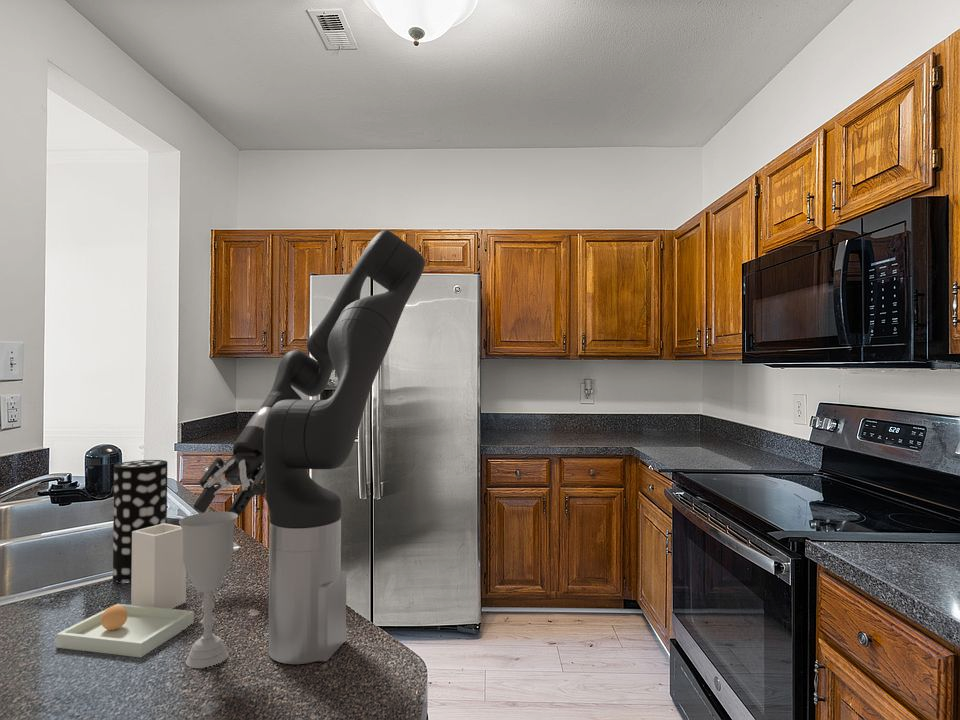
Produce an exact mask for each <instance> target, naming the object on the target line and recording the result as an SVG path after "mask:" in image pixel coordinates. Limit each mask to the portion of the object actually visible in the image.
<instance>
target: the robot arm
mask: <svg viewBox="0 0 960 720" xmlns="http://www.w3.org/2000/svg"><path fill="white" fill-rule="evenodd" d="M425 263H426V262H425V258H424V256H423V255H422V254H421V253H420V252H419V251H418V250H417V249H415V248H414V247H413V246H411V245H410V244H409V243H407V242H406V241H405V240H403V239H402V238H400V236H397V235H396V234H395V233H394V232H392V231H390V230H387V229H383V230H381V231H380V232H378V233H376V234H375V236H374V237H373V238H372V239H371V240H370V241H369V242H368V244H367V246H366V247H365V248H364V250H363V251H362V253H361V255H360V256H359V258H358V260H357V261H356V263H355V264H354V266H353V268H352V269H351V271H350V273H349V274H348V277H347V278H346V279H345V282H344V283H343V285H342V287H341V289H340V290H339V292H338V294H337V296H336V298H335V300H334V302H333V303H332V305H331V306H330V308H329V310H328V312H327V313H326V315H325V316H324V317H323V318H322V320H321V321H320V323H319V324H318V325H317V327H316V328H315V329H314V331H313V332H312V333H311V335H310V336H309V337H308V340H307V341H306V349H307V351H308V353H309V354H310V355H311V356H312V357H311V356H310V355H308V354H306V353H305V352H303V351H301V350H300V349H299V350H298V349H292V350H290V351H288V352H287V353H285V354H284V355H283V356H282V358H281V360H280V361H279V364H278V367H277V371H276V375H275V378H274V382H273V385H272V387H271V389H270V391H269V393H268V395H267V396H266V398H265V399H264V401H263V403H262V404H261V406H260V407H259V408H258V410H257V411H256V412H255V413H254V414H253V415H252V417H251V418H250V419H249V421H248V423H247V424H246V425H245V427H244V428H243V429H242V431H241V433H240V434H239V436H238V437H237V439H236V440H235V442H234V443H233V446H232V450H233V451H232V456H231V457H230V458H228V459H227V460H224V459H222V458H221V457H216V458H215V459H214V461H213V462H212V463H211V465H210V466H209V468H207V471H205V473H203V476H202V477H201V479H200V480H199V481H198V485H199V486H201V488H203V490H202V492H201V493H200V495H199V496H198V497H197V499H196V501H195V503H194V505H193V509H194V510H195V511H197V512H198V513H199V514H200V513H206V511H207V510H208V508H209V506H210V505H211V504H212V502H213V500H214V499H215V497H216V495H217V494H218V493H219V492H221V491H222V490H223V489H228V488H229V487H231V486H235V485H240V486H241V490H240V491H239V492H238V493H237V495H236V497H235V498H234V500H233V501H232V503H231V504H230V506H229V508H228V512H233V513H236V514H237V515H238V517H240V515H241V514H243V512H244V511H245V509H246V508H247V506H248V505H249V503H250V501H251V499H254V498H255V497H256V496H257V495H259V496H264V495H265V500H266V504H267V507H268V510H269V542H268V543H269V545H268V546H269V548H268V549H269V550H268V551H269V553H268V635H267V639H268V655H269V658H270V659H272V660H274V661H276V662H278V663H282V664H285V665H287V664H288V665H304V664H310V663H314V662H327V661H329V660H330V658H331V657H333V655H334V654H335V653H336V652H337V651H339V649H340V647H342V645H343V644H344V643H345V642H346V641H347V571H345V570H342V569H341V568H342V567H341V566H342V565H341V564H342V563H341V562H342V560H341V559H342V556H341V555H342V553H341V551H342V501H341V498H340V496H339V495H338V494H337V493H335V492H333V491H331V490H329V489H328V488H325V487H323V486H321V485H320V484H319V483H317V482H315V480H313V479H312V477H311V476H310V475H309V473H308V470H334V469H337V468H340V467H342V465H343V464H344V463H345V462H346V461H347V459H348V458H349V456H350V454H351V452H352V450H353V448H354V444H355V442H356V439H357V435H358V431H359V429H360V426H361V425H360V424H361V422H362V418H363V415H364V411H365V410H366V409H365V408H366V405H367V401H368V398H369V395H370V392H371V389H372V386H373V384H374V383H375V382H374V381H375V380H376V377H377V375H378V372H379V370H380V368H381V365H382V363H383V361H384V359H385V357H386V355H387V352H388V350H389V348H390V345H391V342H392V340H393V337H394V334H395V332H396V329H397V326H398V323H399V321H400V319H401V316H402V313H403V312H404V309H405V307H406V305H407V303H408V302H409V299H410V297H411V295H412V294H413V292H414V290H415V288H416V286H417V285H418V283H419V280H420V279H421V277H422V274H423V272H424V270H425V269H424V268H425ZM367 278H370V279H371V280H373V281H374V282H376V283H377V284H379V285H380V286H381V287H383V288H384V289H386V290H387V291H386V292H382V293H378V294H374V295H370V296H366V297H362V298H361V293H362V289H363V286H364V283H365V282H366V280H367ZM333 369H334V371H335V374H336V377H337V380H338V382H337V385H336V388H335V389H334V392H333V393H332V395H331V396H330V397H329V398H327V399H303V398H302V397H301V396H300V394H298V392H297V391H296V390H298V391H299V392H301V393H302V394H304V395H306V396H308V397H312V398H313V397H317V396H319V395H321V394H322V393H323V392H324V391H325V390H326V388H327V386H328V384H329V381H330V379H331V375H332V373H333ZM295 389H296V390H295ZM223 475H224V478H225V479H224V478H223ZM217 483H218V484H217Z"/></svg>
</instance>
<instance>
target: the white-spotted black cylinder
mask: <svg viewBox="0 0 960 720" xmlns="http://www.w3.org/2000/svg"><path fill="white" fill-rule="evenodd" d="M168 463H169V462H168V460H162V459H143V460H141V459H139V460H132V461H129V460H128V461H123V462H118V463H116V464H114V466H113V521H112V522H113V524H112V525H113V529H112V532H113V533H112V534H113V535H112V537H113V539H112V541H113V543H112V549H113V550H112V580H113V579H114V580H115V581H118V582H131V578H132V531H136V530H140V529H144V528H148V527H151V526H155V525H159V524H163V523H166V524H168Z"/></svg>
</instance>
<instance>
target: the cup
mask: <svg viewBox="0 0 960 720" xmlns="http://www.w3.org/2000/svg"><path fill="white" fill-rule="evenodd" d="M130 586H131V590H130V591H131V593H130V595H131V597H130V599H131V600H130V605H137V606H147V607H157V608H167V609H171V608H172V609H174V608H173V607H175V608H177V607H179V606H178V605H180V606H182V605H184V604H183V603H185V604H186V603H187V570H186V567H185V565H184V562H183V529H182V528H181V526H180V525H176V524H171V523H167V524H166V523H163V524H159V525H155V526H151V527H148V528H144V529H140V530H136V531H132V578H131V583H130ZM181 604H182V605H181ZM176 606H177V607H176Z"/></svg>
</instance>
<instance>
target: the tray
mask: <svg viewBox="0 0 960 720" xmlns="http://www.w3.org/2000/svg"><path fill="white" fill-rule="evenodd" d="M115 605H119V606H122V607H124V608H125V609H126V611H127V614H128V617H127V620H126V622H125V624H124V625H123V626H122V627H120V628H118V629H116V630H107V629H105V628H104V627H103V626H102V624H101V617H102V614H103V613H104V611H105V610H106V609H103V610H101V611H100V612H98V613H95V614H94V615H91V616H90V617H88V618H86V619H83V620H82V621H79V622H77V623H76V624H73V625H72V626H70V627H68V628H65V629H64V630H62V631H60V632H58V633H56V636H55V637H56V638H55V641H56V642H55V648H57V649H66V650H75V651H84V652H91V653H99V654H107V655H108V654H109V655H117V656H126V657H134V658H142V657H144V656H145V655H147V654H148V653H150V652H152V651H153V650H155V649H156V648H158V647H159V646H161V645H163V644H164V643H167V641H168V640H170V639H172V638H174V637H175V636H177V635H178V634H180V633H181V632H183V631H185V630H186V629H187V628H189V627H190V625H191V624H192V625H194V624H193V623H195V610H187V609H179V608H177V609H176V608H172V609H167V608H157V607H147V606H137V605H131V604H125V603H116V604H113V606H115ZM192 625H191V626H192ZM188 626H189V627H188ZM182 630H183V631H182Z"/></svg>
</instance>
